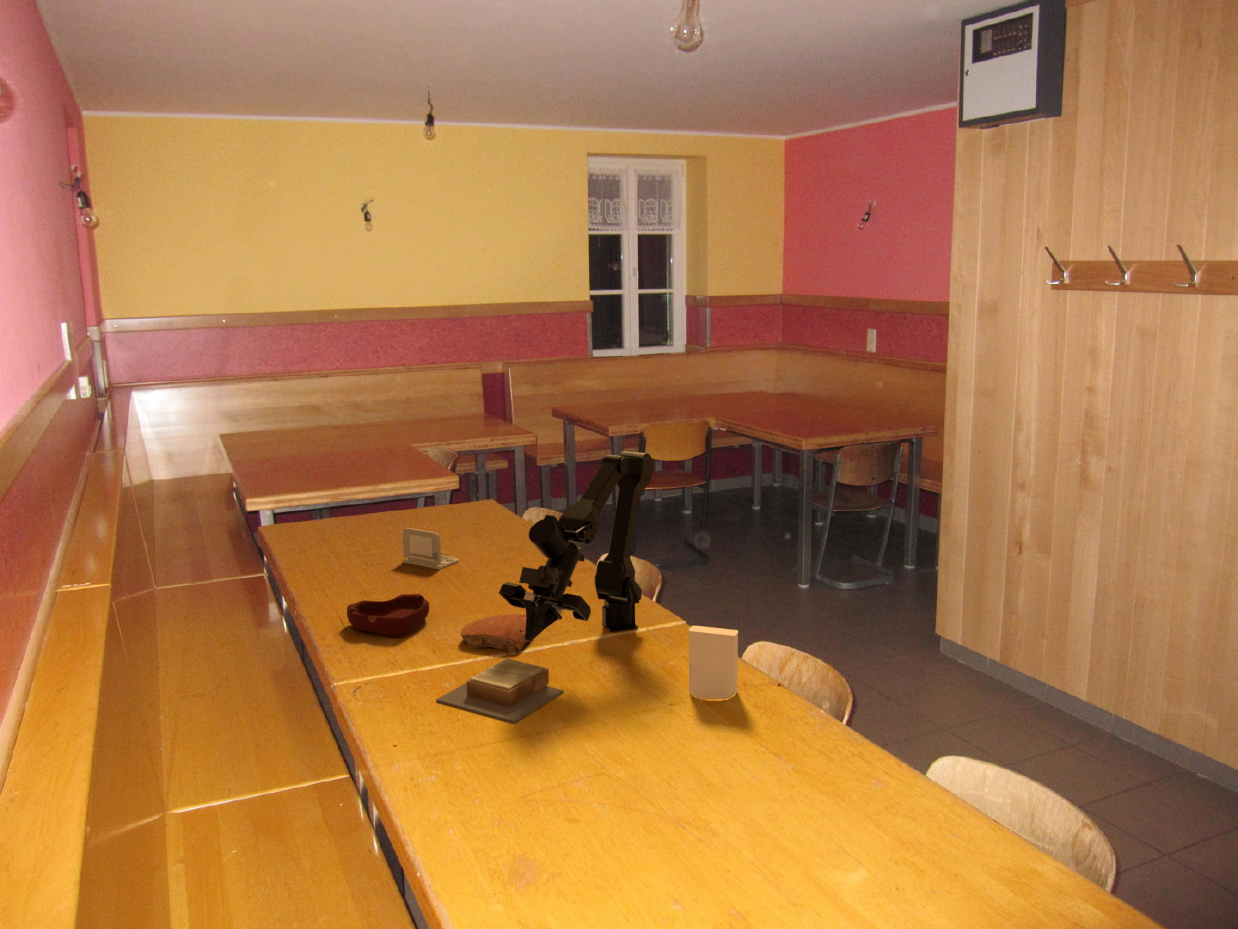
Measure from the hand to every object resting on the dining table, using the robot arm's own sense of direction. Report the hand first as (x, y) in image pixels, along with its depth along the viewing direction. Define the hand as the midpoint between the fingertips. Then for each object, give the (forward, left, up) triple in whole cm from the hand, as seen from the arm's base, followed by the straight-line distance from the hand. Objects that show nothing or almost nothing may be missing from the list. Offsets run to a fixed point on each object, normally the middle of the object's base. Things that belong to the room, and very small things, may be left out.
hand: (527, 640), depth 185 cm
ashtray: (+22, -39, -9) cm, 45 cm away
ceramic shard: (+1, -24, -9) cm, 26 cm away
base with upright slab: (-31, +17, -8) cm, 37 cm away
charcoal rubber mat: (+7, +6, -8) cm, 12 cm away
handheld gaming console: (+6, -88, -8) cm, 88 cm away
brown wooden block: (0, 0, -6) cm, 6 cm away
